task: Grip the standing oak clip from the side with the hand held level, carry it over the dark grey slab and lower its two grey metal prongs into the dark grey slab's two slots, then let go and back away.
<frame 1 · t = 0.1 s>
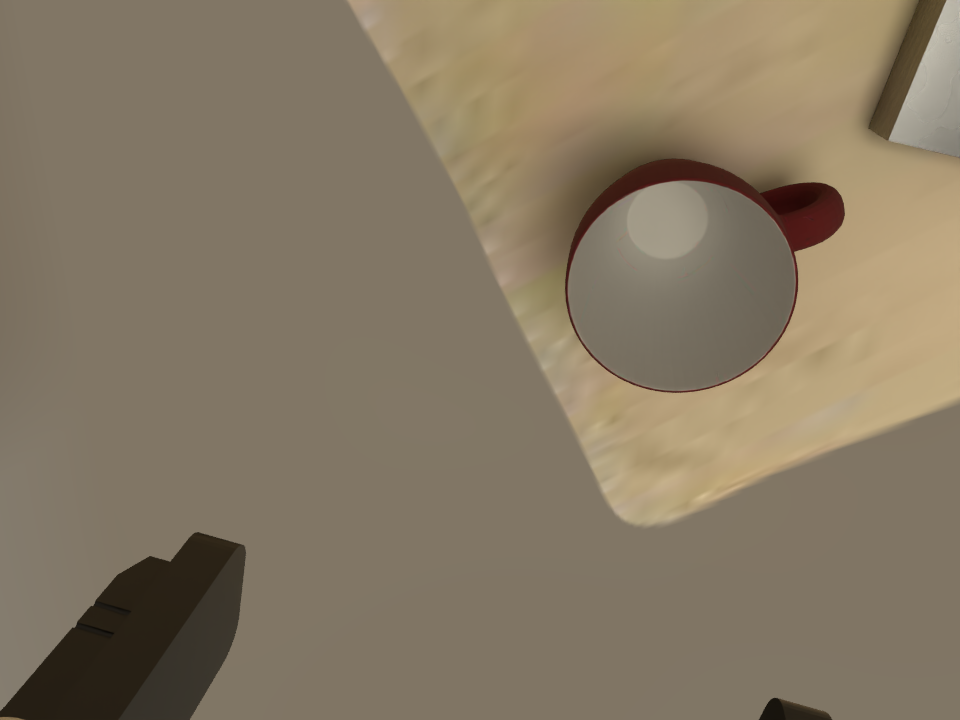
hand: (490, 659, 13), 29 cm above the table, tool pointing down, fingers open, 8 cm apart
mug: (692, 206, 38), on the table
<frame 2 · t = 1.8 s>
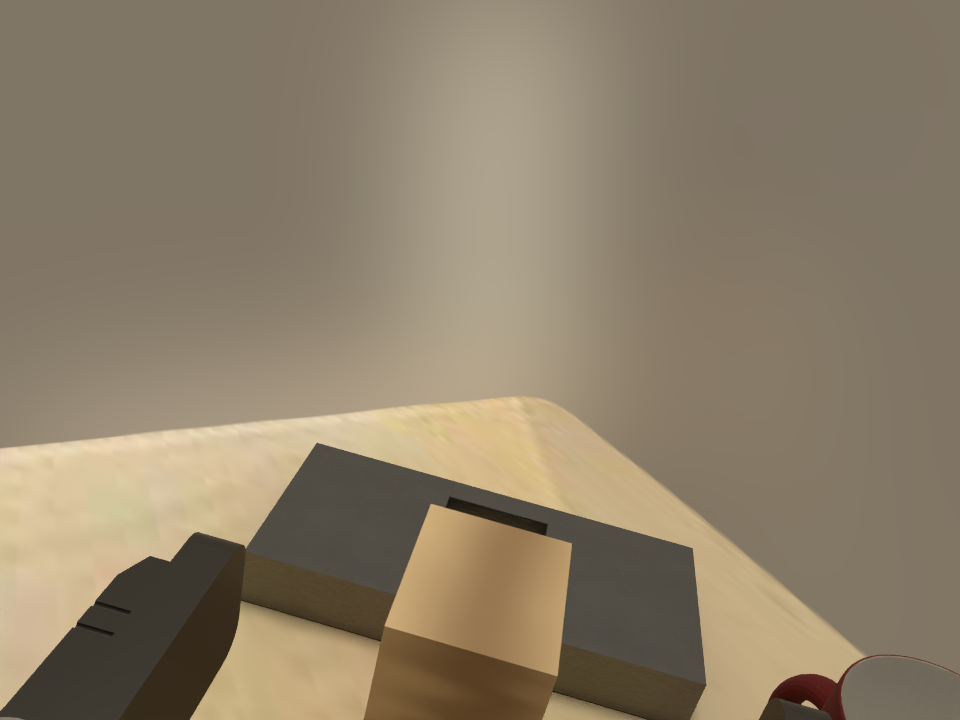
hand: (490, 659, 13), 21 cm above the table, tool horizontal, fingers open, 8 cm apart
dark grey slab: (476, 593, 44), on the table
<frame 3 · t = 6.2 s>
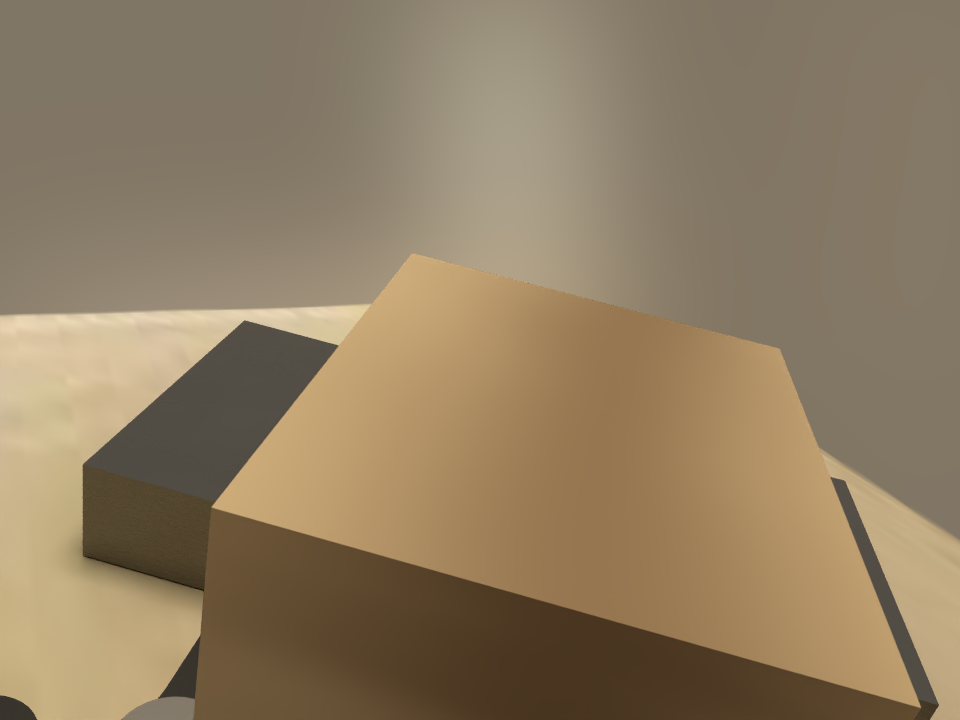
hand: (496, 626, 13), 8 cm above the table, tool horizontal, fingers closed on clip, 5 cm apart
dark grey slab: (500, 551, 27), on the table
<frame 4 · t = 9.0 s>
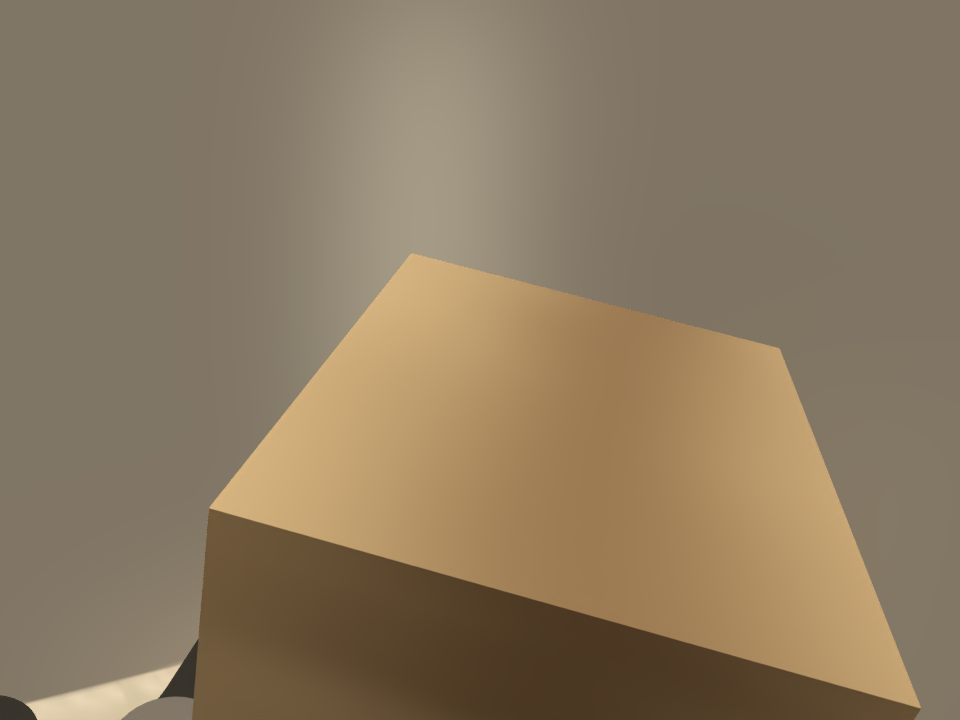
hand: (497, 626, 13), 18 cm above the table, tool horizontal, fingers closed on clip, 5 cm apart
when the fingers open (8 cm above the table, at t = 11.8 s): clip stays where it is, resting in dark grey slab.
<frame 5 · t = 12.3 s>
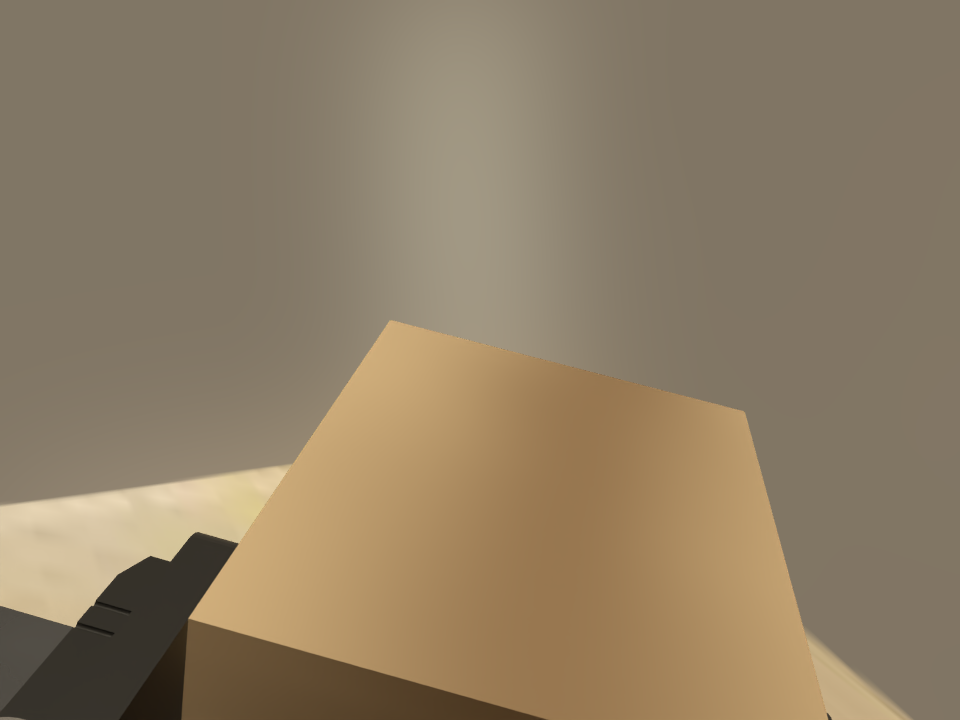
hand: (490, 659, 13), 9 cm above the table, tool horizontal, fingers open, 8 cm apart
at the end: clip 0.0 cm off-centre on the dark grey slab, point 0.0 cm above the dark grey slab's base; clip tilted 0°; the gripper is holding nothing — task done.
